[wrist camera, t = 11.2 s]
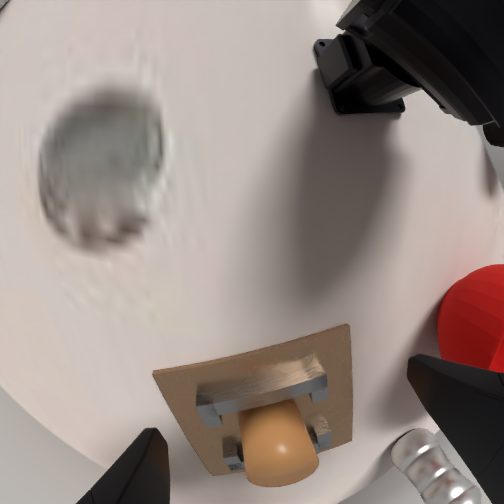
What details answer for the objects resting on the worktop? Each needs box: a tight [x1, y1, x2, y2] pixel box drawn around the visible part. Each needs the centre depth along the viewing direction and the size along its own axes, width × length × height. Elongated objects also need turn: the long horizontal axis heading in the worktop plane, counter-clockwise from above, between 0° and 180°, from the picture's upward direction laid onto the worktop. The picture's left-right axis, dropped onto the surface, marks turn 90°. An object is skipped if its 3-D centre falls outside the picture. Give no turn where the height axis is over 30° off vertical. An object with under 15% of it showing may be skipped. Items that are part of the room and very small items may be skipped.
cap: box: [239, 401, 319, 487], centre depth 19 cm, size 6×6×6 cm
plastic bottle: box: [391, 428, 481, 504], centre depth 17 cm, size 6×7×20 cm
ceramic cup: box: [437, 264, 504, 373], centre depth 18 cm, size 13×17×10 cm
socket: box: [152, 324, 353, 476], centre depth 21 cm, size 16×16×2 cm
